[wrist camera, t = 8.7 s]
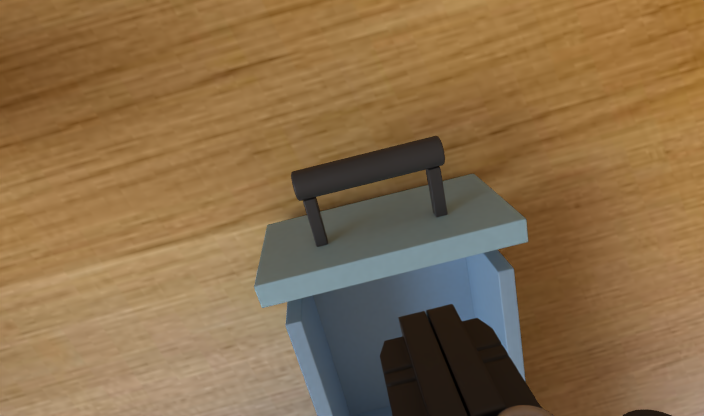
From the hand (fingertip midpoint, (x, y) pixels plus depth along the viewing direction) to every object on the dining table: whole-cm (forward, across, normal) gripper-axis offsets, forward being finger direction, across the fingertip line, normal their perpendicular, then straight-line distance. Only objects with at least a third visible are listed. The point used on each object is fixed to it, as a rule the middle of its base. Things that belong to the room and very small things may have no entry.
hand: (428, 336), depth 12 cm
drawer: (+14, 0, +7) cm, 16 cm away
